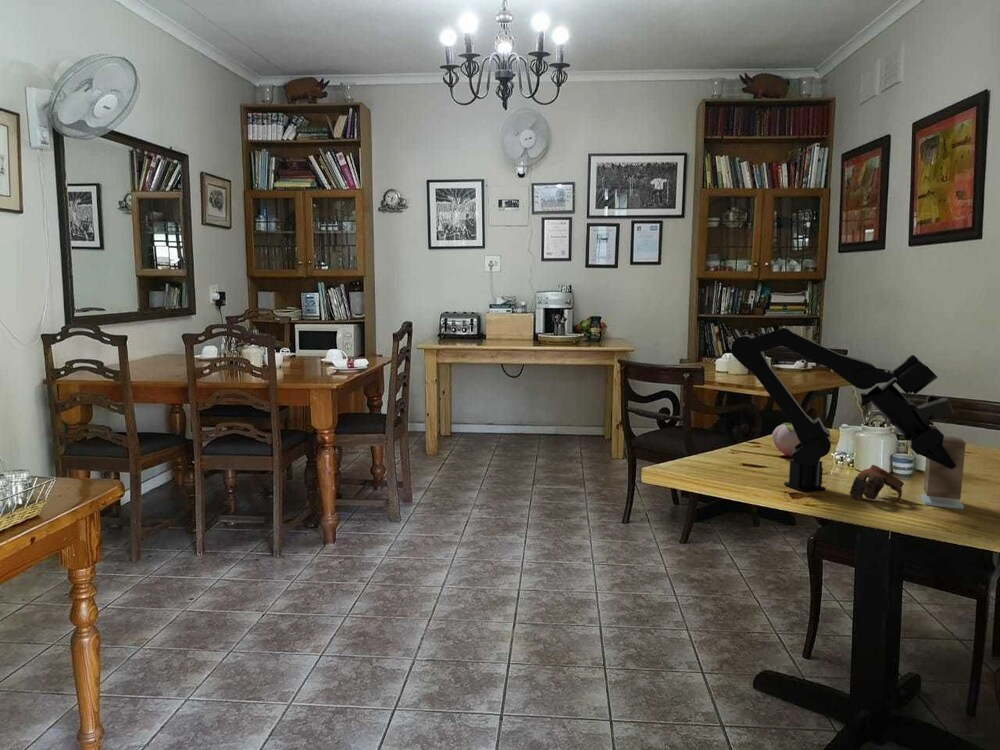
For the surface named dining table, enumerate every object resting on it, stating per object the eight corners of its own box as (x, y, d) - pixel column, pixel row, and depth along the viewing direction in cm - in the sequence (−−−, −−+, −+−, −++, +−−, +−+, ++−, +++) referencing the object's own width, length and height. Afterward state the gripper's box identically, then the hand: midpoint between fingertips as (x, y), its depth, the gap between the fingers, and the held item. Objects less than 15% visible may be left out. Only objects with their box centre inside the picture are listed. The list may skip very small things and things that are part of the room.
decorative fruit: (811, 460, 192) (813, 423, 191) (781, 460, 192) (783, 423, 191) (796, 452, 202) (798, 417, 201) (767, 452, 202) (769, 417, 200)
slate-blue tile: (924, 504, 152) (924, 501, 152) (920, 496, 158) (920, 493, 158) (963, 509, 149) (963, 506, 149) (957, 500, 156) (958, 497, 156)
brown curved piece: (847, 492, 163) (868, 462, 162) (887, 517, 159) (910, 486, 158) (843, 490, 153) (866, 458, 152) (886, 517, 148) (910, 484, 147)
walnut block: (927, 495, 152) (931, 439, 151) (923, 489, 158) (928, 435, 156) (960, 499, 150) (965, 442, 148) (955, 492, 155) (960, 437, 154)
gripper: (935, 389, 144) (995, 449, 141) (923, 379, 161) (977, 433, 158) (887, 424, 148) (945, 483, 145) (881, 411, 165) (932, 464, 162)
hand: (951, 464), depth 152 cm, fingers closed on walnut block, 6 cm apart
